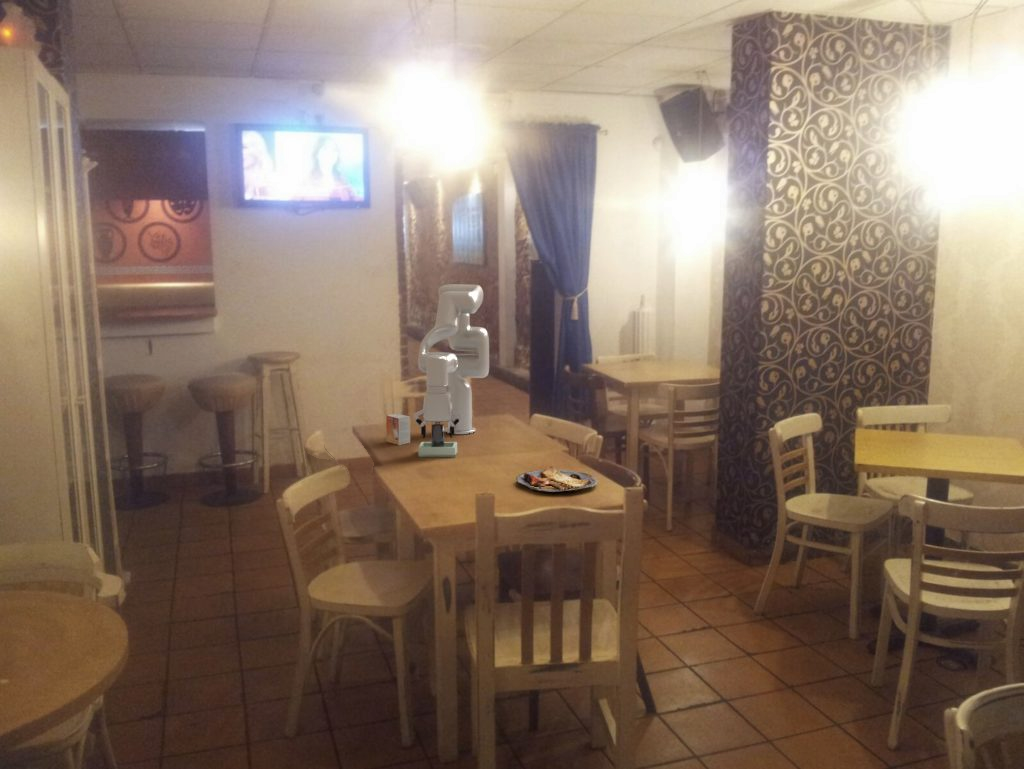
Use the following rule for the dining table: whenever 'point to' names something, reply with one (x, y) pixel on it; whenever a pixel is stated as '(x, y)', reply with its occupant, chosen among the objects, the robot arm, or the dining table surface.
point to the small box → (398, 429)
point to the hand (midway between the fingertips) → (437, 437)
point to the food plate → (556, 479)
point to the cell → (437, 435)
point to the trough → (437, 450)
